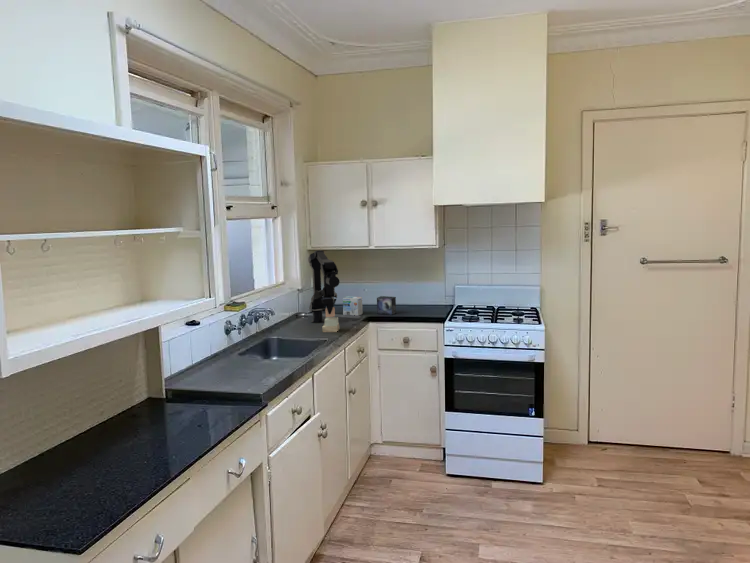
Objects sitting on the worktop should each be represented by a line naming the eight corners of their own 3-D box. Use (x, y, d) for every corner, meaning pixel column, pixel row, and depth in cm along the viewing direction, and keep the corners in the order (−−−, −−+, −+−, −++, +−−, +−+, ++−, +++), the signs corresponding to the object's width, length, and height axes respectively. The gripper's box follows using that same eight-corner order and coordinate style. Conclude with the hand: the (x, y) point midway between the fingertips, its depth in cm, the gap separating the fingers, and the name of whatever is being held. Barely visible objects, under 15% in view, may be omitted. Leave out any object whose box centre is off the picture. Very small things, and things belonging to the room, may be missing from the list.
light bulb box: (342, 315, 349) (342, 298, 348) (347, 313, 356) (346, 296, 354) (358, 315, 345) (358, 298, 344) (362, 313, 352) (362, 296, 350)
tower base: (325, 329, 311) (324, 323, 310) (339, 329, 310) (339, 323, 310) (322, 332, 303) (322, 326, 303) (337, 332, 302) (337, 326, 302)
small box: (376, 314, 349) (376, 297, 348) (381, 312, 355) (380, 295, 353) (391, 315, 344) (391, 298, 343) (396, 313, 350) (396, 296, 348)
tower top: (326, 323, 309) (326, 317, 309) (338, 323, 309) (338, 317, 308) (324, 326, 303) (324, 319, 302) (336, 326, 302) (336, 319, 302)
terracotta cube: (326, 315, 308) (326, 307, 307) (335, 315, 308) (334, 307, 307) (325, 317, 303) (325, 308, 303) (334, 316, 303) (333, 308, 302)
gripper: (316, 282, 313) (318, 310, 315) (311, 287, 294) (312, 317, 296) (336, 282, 312) (337, 310, 314) (332, 287, 294) (333, 316, 296)
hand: (330, 313), depth 305 cm, fingers closed on terracotta cube, 4 cm apart
